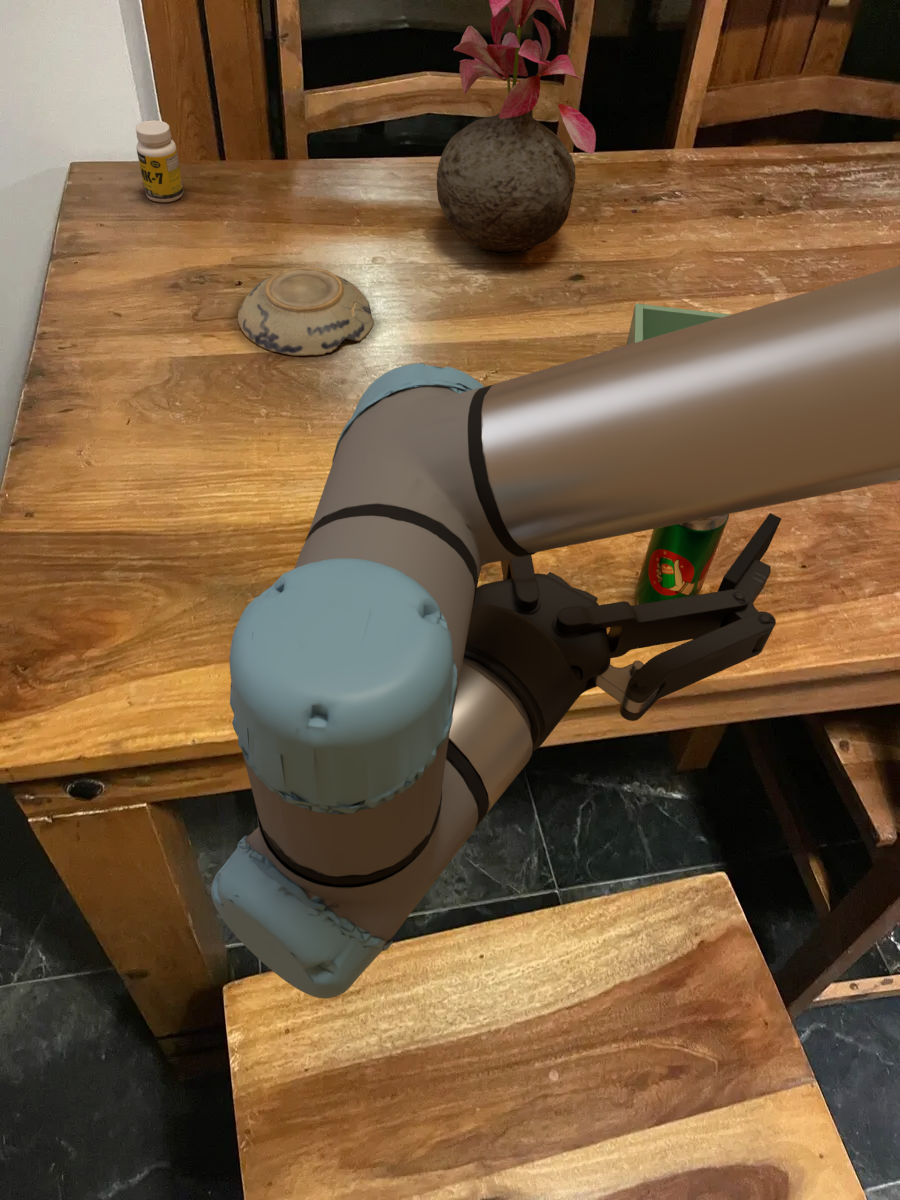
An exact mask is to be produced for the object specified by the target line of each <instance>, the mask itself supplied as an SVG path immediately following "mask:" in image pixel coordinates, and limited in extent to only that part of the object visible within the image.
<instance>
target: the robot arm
mask: <svg viewBox="0 0 900 1200" xmlns="http://www.w3.org/2000/svg"><path fill="white" fill-rule="evenodd" d="M331 461H332V462H331V463H332V464H331V466H330V470H329V472H328V475H327V478H326V481H325V484H324V487H323V490H322V493H321V496H320V499H319V501H318V504H317V508H316V510H315V513H314V516H313V519H312V522H311V525H310V528H309V530H308V534H307V536H306V538H305V541H304V544H303V545H302V547H301V550H300V552H299V555H298V558H297V559H296V563H295V566H294V568H292V569H290V570H288V571H286V572H284V573H282V574H281V575H280V576H279V577H278V579H276V581H275V582H274V583H273V584H272V585H271V586H270V587H268V588H266V589H265V590H264V591H263V592H262V593H260V595H258V596H255V597H254V598H253V600H251V601H250V602H249V603H247V605H246V606H245V608H244V610H243V611H242V613H241V614H240V617H239V619H238V622H237V623H236V626H235V628H234V630H233V634H232V638H231V643H230V649H229V673H230V694H229V695H230V696H229V705H230V708H231V711H232V713H233V718H232V723H231V724H232V728H233V731H234V733H235V735H236V736H237V745H238V747H239V749H240V750H241V753H242V756H243V760H244V765H245V768H246V772H247V776H248V780H249V784H250V788H251V792H252V795H253V800H254V803H255V808H256V816H257V818H256V819H257V828H256V829H254V830H253V832H251V833H250V834H249V835H244V836H243V837H242V838H241V839H240V840H239V841H238V842H237V846H236V848H235V850H234V851H233V852H232V853H231V855H230V857H229V858H228V859H227V860H226V862H225V863H224V864H223V866H221V868H220V869H219V870H218V871H217V873H216V874H215V877H214V879H213V881H212V882H211V889H210V893H211V899H212V903H213V905H214V908H215V909H216V911H217V912H218V914H219V916H220V918H221V919H222V920H223V922H224V923H225V925H226V926H227V927H228V929H229V930H231V932H232V934H234V936H235V937H236V938H237V939H238V940H239V941H240V942H241V943H242V944H243V945H244V946H245V947H246V949H247V950H248V951H250V953H252V954H253V955H254V956H255V957H256V959H258V960H259V961H260V962H261V963H263V964H264V966H266V967H267V968H268V969H269V970H270V971H272V972H273V973H274V974H275V975H277V976H278V977H280V978H281V979H282V980H283V981H285V983H287V984H289V985H290V986H292V987H294V988H295V989H297V990H299V991H300V992H302V993H304V994H306V995H309V996H311V997H314V998H317V999H325V1000H326V999H333V998H337V997H339V996H341V995H343V994H345V993H346V992H347V991H348V990H349V989H350V988H351V987H352V986H353V985H354V983H355V982H356V981H357V980H358V979H359V978H360V976H361V975H362V974H363V973H364V972H365V971H366V970H367V968H368V967H369V966H371V964H372V963H373V962H374V961H375V960H376V959H377V958H378V957H379V955H381V953H382V952H384V951H385V952H386V951H388V950H389V948H390V947H391V946H392V944H393V943H394V941H393V937H394V936H395V935H396V933H398V931H399V929H401V927H402V925H403V924H404V923H405V921H406V920H407V919H408V917H409V916H410V915H411V913H412V912H413V911H414V910H415V908H416V907H417V906H418V905H419V903H420V901H421V900H422V899H423V898H424V897H425V895H426V894H427V893H428V891H429V890H430V889H431V888H432V886H433V885H434V884H435V882H436V881H437V879H438V878H439V877H440V876H441V875H442V873H443V872H444V871H445V870H446V868H447V867H448V865H449V864H450V863H451V861H452V860H453V859H454V857H455V856H456V854H458V852H459V850H460V849H461V848H462V847H463V845H464V844H465V843H466V842H467V840H468V839H469V838H470V837H471V835H472V834H473V833H474V831H475V829H476V828H477V827H478V826H479V825H480V823H481V822H482V821H483V820H484V818H485V817H486V815H487V814H488V813H489V812H490V810H491V809H492V808H493V807H494V805H495V804H496V803H497V801H499V799H500V798H501V797H502V796H503V794H504V793H505V791H506V790H507V789H508V788H509V786H510V785H511V784H512V783H513V782H514V780H515V779H516V778H517V777H518V775H519V774H521V772H522V771H523V769H524V768H525V767H526V765H527V764H528V763H529V762H530V759H531V757H532V756H533V752H534V751H536V750H539V748H540V747H542V745H543V744H544V742H546V740H547V739H548V738H549V736H550V735H551V734H552V732H553V731H554V730H555V728H556V727H557V726H558V725H559V723H560V722H561V720H563V718H564V717H565V715H566V714H568V711H570V709H571V708H572V706H573V705H574V704H575V703H576V701H577V700H578V699H579V698H580V696H581V695H583V694H584V693H585V692H587V691H589V690H592V689H595V688H597V687H598V688H599V689H601V690H602V691H603V692H605V693H606V694H607V695H609V696H611V697H612V698H613V699H615V700H616V701H617V702H618V703H620V706H619V714H620V715H621V717H622V718H623V719H625V720H626V721H629V722H630V721H631V722H636V721H638V720H640V719H641V718H642V717H643V716H644V715H645V714H646V713H647V712H648V711H649V709H650V708H652V706H654V704H655V703H656V702H657V701H659V699H662V698H664V697H666V696H668V695H670V694H674V693H675V692H677V691H680V690H683V689H685V688H687V687H689V686H691V685H693V684H696V683H698V682H700V681H702V680H704V679H707V678H709V677H711V676H713V675H716V674H718V673H720V672H723V671H725V670H727V669H729V668H732V667H734V666H736V665H738V664H740V663H743V662H745V661H747V660H749V659H752V658H754V657H756V656H759V655H760V654H761V653H762V652H763V650H764V648H765V646H766V644H767V643H768V641H769V638H770V636H771V634H772V632H773V630H774V629H775V626H776V624H777V622H776V621H777V619H776V617H774V615H773V614H772V613H770V612H768V611H763V610H760V611H759V610H758V609H757V608H756V607H755V605H754V603H755V602H756V600H757V599H758V598H759V595H760V594H761V593H762V591H763V590H764V588H765V585H766V583H767V581H768V580H769V577H770V576H771V572H772V571H771V570H772V569H771V567H772V566H771V565H769V564H767V563H766V562H763V561H761V560H762V558H763V557H764V556H765V554H766V553H767V551H768V550H769V547H770V546H771V543H772V541H773V539H774V536H775V535H776V532H777V530H778V528H779V525H780V523H781V521H782V517H779V516H778V515H775V514H773V513H771V512H769V514H768V515H767V516H766V518H764V520H763V522H762V523H761V524H760V526H759V527H758V529H756V532H755V533H754V534H753V535H752V537H751V538H750V540H749V541H748V542H747V543H746V545H745V547H744V548H743V549H742V551H741V552H740V553H739V555H738V556H737V558H736V559H735V561H734V562H733V563H732V564H731V566H730V567H729V569H728V570H727V571H726V572H725V574H724V576H723V577H722V578H721V579H722V580H721V582H720V584H719V586H718V589H717V591H712V592H707V593H700V594H699V595H694V596H688V597H682V598H675V599H669V600H663V601H657V602H651V603H645V604H638V603H637V604H631V603H630V602H629V601H626V600H624V601H623V600H622V601H617V602H611V603H604V604H599V603H598V599H599V598H598V597H597V596H595V595H593V594H592V593H590V592H588V591H586V590H583V589H580V588H576V587H574V586H571V585H570V584H569V583H568V582H567V581H566V580H564V578H562V577H561V576H559V575H557V574H555V573H553V572H551V571H549V572H547V574H545V573H539V572H538V573H537V572H535V567H534V561H533V556H532V555H535V554H537V553H539V552H546V551H550V550H555V549H560V548H564V547H571V546H574V545H580V544H585V543H591V542H595V541H600V540H605V539H611V538H615V537H620V536H625V535H630V534H635V533H636V534H637V533H640V532H646V531H650V530H653V529H656V528H661V527H666V526H671V525H676V524H681V523H686V522H691V521H696V520H701V519H706V518H711V517H716V516H721V515H726V514H729V515H731V514H735V513H741V512H744V511H746V512H747V511H751V510H756V509H760V508H765V507H770V506H777V505H781V504H787V503H791V502H797V501H801V500H806V499H810V498H816V497H821V496H826V495H831V494H832V495H833V494H836V493H840V492H847V491H851V490H857V489H861V488H862V489H863V488H866V487H871V486H877V485H881V484H882V485H883V484H886V483H887V484H888V483H891V482H896V481H900V265H896V266H893V267H890V268H886V269H882V270H879V271H875V272H872V273H869V274H865V275H863V276H859V277H856V278H852V279H849V280H845V281H841V282H837V283H835V284H831V285H828V286H824V287H821V288H818V289H815V290H810V291H808V292H804V293H801V294H797V295H794V296H791V297H786V298H784V299H783V298H782V299H780V300H777V301H774V302H770V303H766V304H763V305H760V306H755V307H753V308H750V309H746V310H742V311H739V312H735V313H732V314H731V315H729V316H725V317H722V318H718V319H715V320H711V321H708V322H705V323H701V324H698V325H694V326H691V327H687V328H684V329H681V330H677V331H674V332H670V333H667V334H664V335H660V336H657V337H653V338H650V339H646V340H643V341H640V342H636V343H633V344H629V345H626V344H625V345H623V346H619V347H616V348H612V349H609V350H606V351H602V352H599V353H596V354H592V355H589V356H585V357H582V358H578V359H575V360H572V361H568V362H565V363H562V364H561V363H560V364H558V365H554V366H551V367H547V368H545V369H540V370H537V371H533V372H530V373H527V374H523V375H519V376H517V377H513V378H510V379H507V380H503V381H499V382H497V383H494V384H491V385H487V386H484V384H482V383H481V382H480V381H479V380H477V378H474V377H472V376H471V375H470V374H468V373H466V372H464V371H463V370H461V369H457V368H455V367H452V366H445V367H441V366H436V365H430V364H429V365H428V364H427V365H426V363H423V362H418V363H417V362H416V363H409V364H404V365H401V366H398V367H396V368H395V367H394V368H393V369H390V370H389V371H386V372H385V373H383V374H381V376H379V377H378V378H376V379H374V381H372V383H371V384H369V386H368V387H367V388H366V389H365V391H364V392H363V394H362V395H361V397H360V399H359V400H358V402H357V405H356V406H355V409H354V411H353V414H352V416H351V418H350V419H349V420H348V421H347V422H346V423H345V426H343V428H342V431H341V433H340V435H339V438H338V440H337V443H336V445H335V449H334V454H333V457H332V460H331ZM498 562H500V567H501V573H502V579H501V580H495V581H492V582H487V583H483V584H481V585H478V584H479V579H480V575H481V571H482V567H484V566H485V565H487V564H493V563H498ZM608 629H609V631H608ZM683 641H685V642H684V643H681V644H678V645H676V646H674V647H672V648H669V649H667V650H664V651H662V652H661V653H658V654H656V655H654V656H653V657H651V658H650V659H648V660H647V661H646V662H643V661H641V660H634V661H633V662H632V663H630V664H628V665H626V666H624V667H623V666H622V667H617V666H614V665H613V664H611V659H615V658H620V657H623V656H626V654H627V653H628V652H630V651H632V650H638V649H644V648H649V647H650V648H651V647H655V646H661V645H667V644H673V643H679V642H683Z"/></svg>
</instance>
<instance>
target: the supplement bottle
mask: <svg viewBox="0 0 900 1200" xmlns="http://www.w3.org/2000/svg"><path fill="white" fill-rule="evenodd" d="M170 128H171V127H170V125H169V124H168V123H167V122H165V121H162V120H145V121H142V122H139V123H138V124H137V125H136V127H135V133H136V139H137V141H138V142H137V143H136V145H135V147H136V154H137V158H138V164H139V168H140V173H141V179H142V183H143V186H144V187H143V188H144V192H145V195H146V197H147V198H148V199H149V200H150V201H153V202H157V203H164V204H165V203H172V202H175V201H177V200H179V199H181V198H182V197H183V195H184V185H183V179H182V173H181V168H180V166H181V165H180V161H179V157H178V149H177V144H176V143H175V141H174V140H173V139H172V133H171V129H170Z"/></svg>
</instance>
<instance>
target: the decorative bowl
mask: <svg viewBox="0 0 900 1200" xmlns="http://www.w3.org/2000/svg"><path fill="white" fill-rule="evenodd" d="M237 322H238V326H239V328H240V330H241V331H242V333H243V334H244V336H245V337H246V338H247V339H248V340H250V341H251V342H252V343H254V344H255V345H257V346H258V347H262V348H264V349H265V350H266V351H270V352H273V353H280V354H282V355H288V356H296V357H298V356H301V357H304V356H324V355H326V353H327V354H329V353H332V352H333V351H335V350H336V349H337V348H338V347H339V346H340V345H341V344H342V343H343V342H344V341H345V340H346V339H347V340H351V341H355V342H361V341H362V340H363V339H364V338H365V337H366V336H367V335H368V334H369V332H370V331H371V330H372V328H373V326H374V318H373V315H372V309H371V306H370V303H369V301H368V299H367V297H366V296H365V294H364V293H363V291H361V290H360V289H359V288H358V287H357V286H356V285H355V284H353V283H352V282H350V281H349V280H347V279H346V278H343V277H341V276H339V275H337V274H334V273H333V272H331V271H328V270H326V269H323V268H318V267H312V266H299V267H298V266H297V267H291V268H288V269H284V270H281V271H279V272H276V273H274V274H272V275H270V276H267V277H266V278H265V279H262V280H261V281H260V282H259V283H257V284H256V285H255V286H254V287H253V288H252V289H251V290H250V291H249V293H247V295H246V296H245V298H244V299H243V302H242V303H241V305H240V307H239V310H238V314H237Z"/></svg>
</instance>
